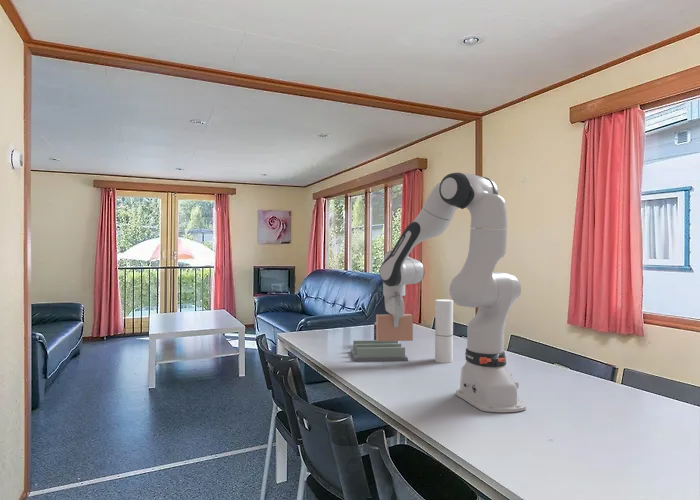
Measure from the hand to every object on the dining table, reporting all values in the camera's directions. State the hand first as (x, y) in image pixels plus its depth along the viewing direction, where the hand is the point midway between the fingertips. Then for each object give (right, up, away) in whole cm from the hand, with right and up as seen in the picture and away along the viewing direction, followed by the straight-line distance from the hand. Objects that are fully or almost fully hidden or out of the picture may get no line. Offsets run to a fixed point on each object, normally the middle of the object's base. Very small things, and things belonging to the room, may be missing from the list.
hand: (394, 325), depth 171 cm
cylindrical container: (+21, -16, +7) cm, 27 cm away
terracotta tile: (0, -6, 0) cm, 6 cm away
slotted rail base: (-6, -15, +13) cm, 21 cm away
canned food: (-2, -15, +31) cm, 35 cm away
